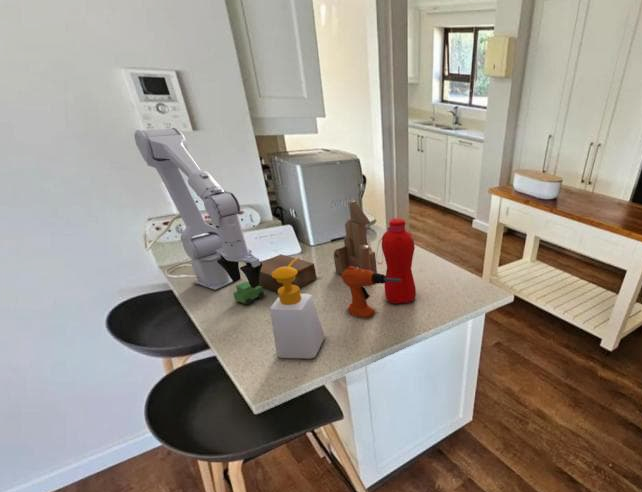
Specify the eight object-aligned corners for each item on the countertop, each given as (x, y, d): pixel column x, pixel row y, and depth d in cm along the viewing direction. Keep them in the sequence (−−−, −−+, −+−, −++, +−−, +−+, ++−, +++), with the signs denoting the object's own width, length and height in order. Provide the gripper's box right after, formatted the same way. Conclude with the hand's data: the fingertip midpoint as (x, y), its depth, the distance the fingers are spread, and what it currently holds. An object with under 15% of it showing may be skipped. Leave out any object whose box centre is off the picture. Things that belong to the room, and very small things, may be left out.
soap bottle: (331, 327, 100) (318, 252, 87) (315, 360, 88) (298, 278, 76) (295, 326, 99) (277, 250, 87) (275, 359, 88) (251, 277, 75)
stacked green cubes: (246, 306, 107) (241, 291, 104) (236, 302, 108) (231, 287, 105) (265, 296, 112) (261, 281, 109) (255, 292, 113) (251, 278, 110)
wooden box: (287, 295, 113) (284, 281, 110) (253, 283, 118) (249, 270, 115) (316, 278, 123) (314, 265, 120) (284, 269, 127) (281, 256, 125)
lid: (282, 280, 110) (282, 278, 109) (247, 270, 114) (247, 267, 114) (314, 265, 120) (314, 263, 120) (281, 256, 125) (280, 254, 124)
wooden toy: (334, 272, 127) (323, 200, 113) (349, 266, 132) (340, 195, 118) (367, 285, 120) (359, 210, 107) (381, 278, 125) (375, 205, 111)
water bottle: (378, 291, 117) (372, 215, 104) (412, 289, 120) (411, 213, 106) (381, 306, 110) (374, 226, 96) (417, 303, 112) (416, 224, 99)
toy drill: (403, 324, 100) (395, 274, 93) (346, 316, 106) (333, 269, 99) (411, 315, 104) (403, 266, 96) (355, 308, 110) (344, 262, 102)
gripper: (264, 239, 100) (275, 283, 107) (227, 229, 105) (240, 272, 112) (241, 248, 95) (255, 293, 102) (203, 237, 99) (219, 281, 107)
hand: (246, 283), depth 107 cm, fingers open, 7 cm apart
